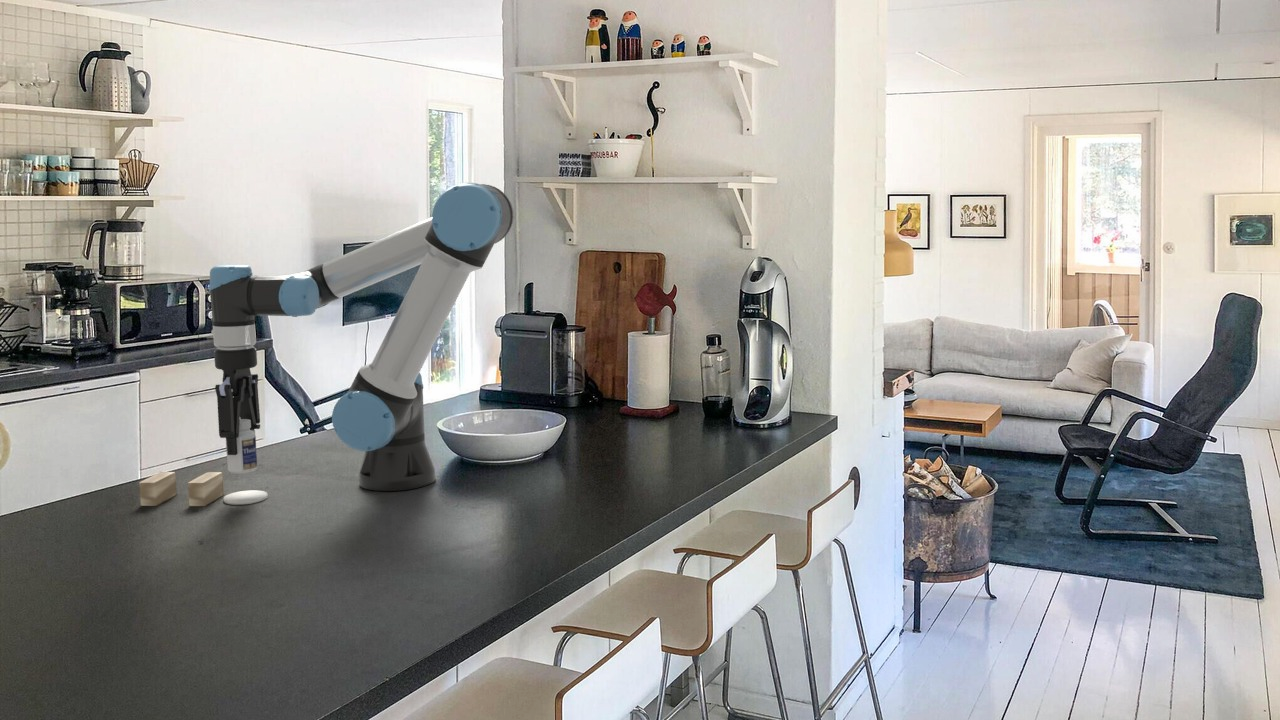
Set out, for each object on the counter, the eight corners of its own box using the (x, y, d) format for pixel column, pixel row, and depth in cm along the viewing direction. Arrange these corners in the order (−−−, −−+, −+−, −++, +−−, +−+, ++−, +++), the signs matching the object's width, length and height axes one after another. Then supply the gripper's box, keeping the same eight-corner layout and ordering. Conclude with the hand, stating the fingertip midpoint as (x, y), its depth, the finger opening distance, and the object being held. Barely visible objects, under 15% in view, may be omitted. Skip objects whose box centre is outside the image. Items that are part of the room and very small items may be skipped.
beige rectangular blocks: (223, 494, 211) (222, 472, 210) (204, 506, 203) (203, 482, 202) (162, 494, 212) (160, 472, 211) (140, 505, 204) (138, 482, 203)
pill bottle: (247, 474, 203) (244, 424, 202) (222, 473, 205) (218, 423, 203) (263, 467, 209) (260, 418, 207) (238, 466, 210) (234, 417, 208)
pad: (274, 493, 211) (274, 490, 211) (257, 504, 203) (257, 501, 203) (234, 493, 212) (234, 490, 212) (216, 504, 204) (216, 501, 204)
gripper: (237, 340, 212) (244, 455, 216) (192, 354, 194) (201, 478, 198) (274, 340, 212) (280, 455, 215) (232, 354, 194) (240, 479, 197)
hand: (242, 466), depth 206 cm, fingers closed on pill bottle, 5 cm apart
